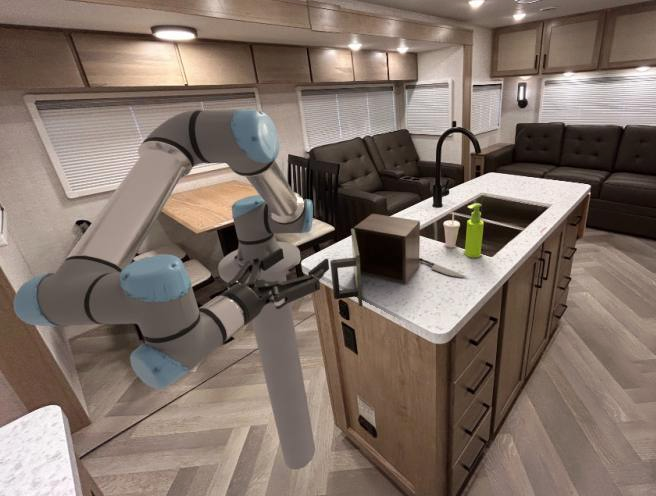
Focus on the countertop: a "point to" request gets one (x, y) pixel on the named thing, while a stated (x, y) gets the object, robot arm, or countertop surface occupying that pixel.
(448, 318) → the countertop surface
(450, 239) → the smoothie
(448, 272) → the chef's knife
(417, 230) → the cupboard
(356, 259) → the cupboard door
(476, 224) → the soap dispenser
